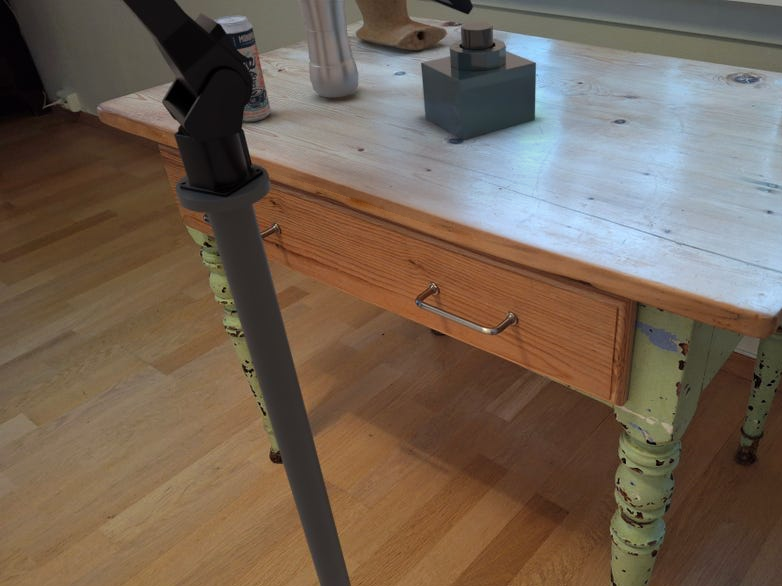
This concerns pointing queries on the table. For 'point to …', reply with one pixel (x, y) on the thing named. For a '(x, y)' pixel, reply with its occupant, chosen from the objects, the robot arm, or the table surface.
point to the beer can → (248, 64)
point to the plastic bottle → (329, 48)
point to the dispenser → (479, 90)
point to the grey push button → (477, 36)
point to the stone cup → (395, 26)
